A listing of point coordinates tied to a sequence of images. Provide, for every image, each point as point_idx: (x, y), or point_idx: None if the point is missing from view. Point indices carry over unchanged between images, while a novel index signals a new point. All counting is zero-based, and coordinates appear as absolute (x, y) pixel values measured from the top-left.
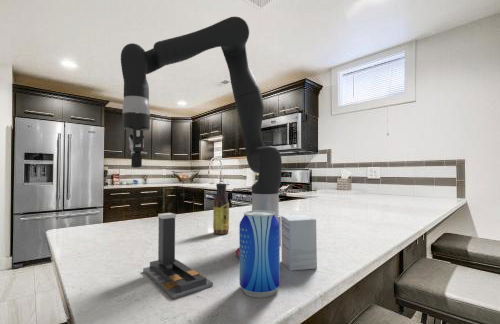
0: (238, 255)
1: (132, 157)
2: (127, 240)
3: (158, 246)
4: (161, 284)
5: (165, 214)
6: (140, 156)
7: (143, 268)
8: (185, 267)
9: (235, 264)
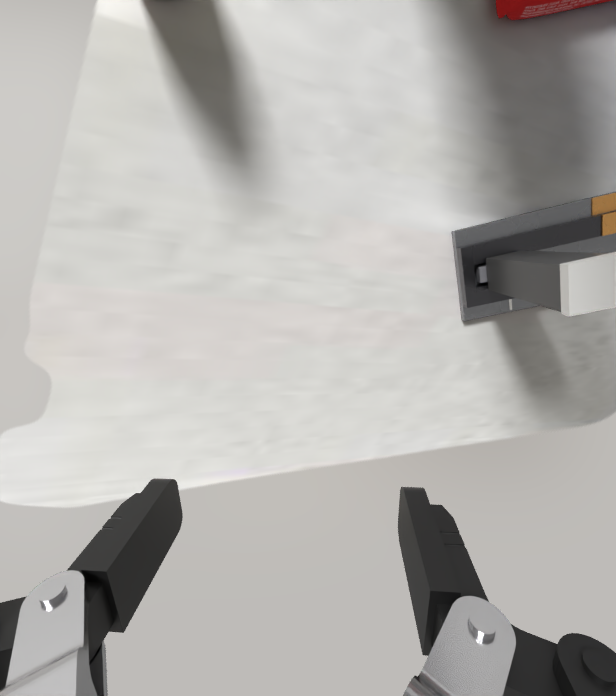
0: (531, 17)
1: (134, 604)
2: (156, 339)
3: (508, 295)
4: None
5: (604, 292)
6: (451, 576)
7: (465, 320)
8: (567, 229)
9: (567, 59)
